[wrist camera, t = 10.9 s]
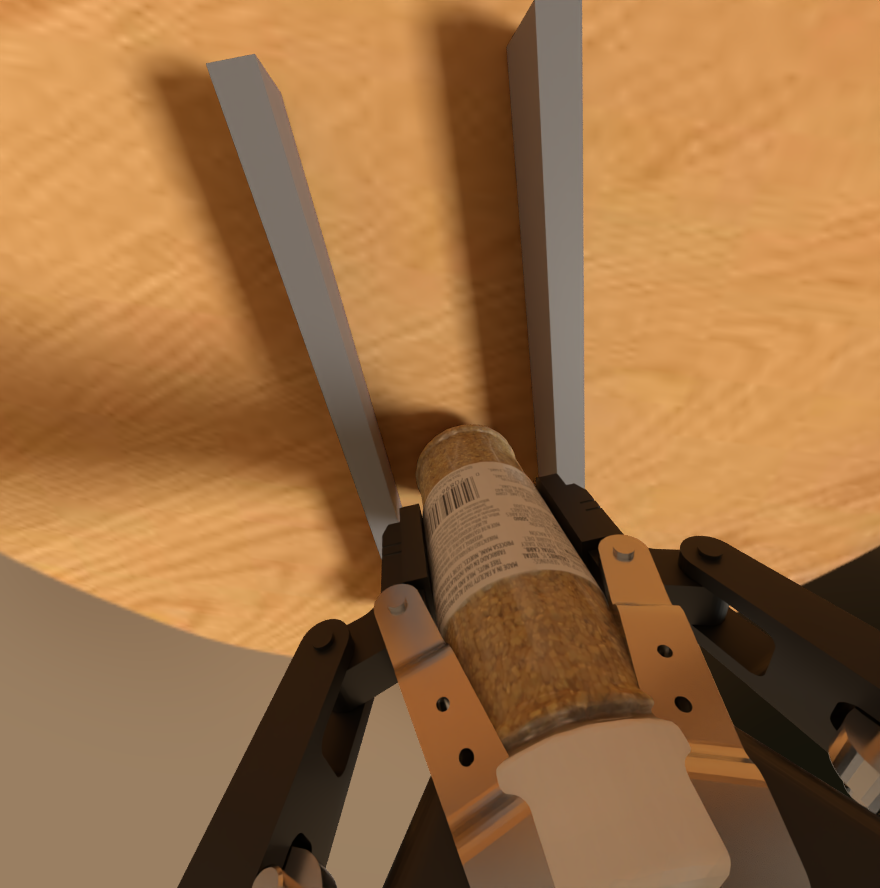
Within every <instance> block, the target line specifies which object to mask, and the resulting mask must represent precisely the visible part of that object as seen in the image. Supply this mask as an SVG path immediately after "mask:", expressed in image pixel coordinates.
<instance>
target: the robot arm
mask: <svg viewBox="0 0 880 888" xmlns="http://www.w3.org/2000/svg"><path fill="white" fill-rule="evenodd" d="M536 488H537V490H538V492H539V493H540V495H541V496H542V498H543V499H544V501H545V503H546V504H547V506H548V507H549V509H550V511H551V512H552V514H553V515H554V517H555V519H556V520H557V522H558V523H559V525H560V527H561V528H562V530H563V531H564V533H565V534H566V536H567V538H568V539H569V541H570V542H571V544H572V545H573V547H574V548H575V550H576V551H577V553H578V555H579V556H580V558H581V559H582V561H583V562H584V564H585V565H586V567H587V568H588V570H589V572H590V573H591V575H592V576H593V578H594V579H595V581H596V583H597V584H598V586H599V587H600V589H601V590H602V592H603V593H604V595H605V597H606V599H607V602H608V605H609V607H610V610H611V612H612V614H613V616H614V620H615V623H616V625H617V626H618V628H619V631H620V634H621V636H622V639H623V642H624V646H625V648H626V651H627V654H628V656H629V660H630V664H631V666H632V669H633V671H634V674H635V678H636V681H637V683H638V686H639V689H640V690H641V691H643V692H644V693H646V694H648V695H649V696H650V697H652V698H653V701H654V705H653V707H652V709H651V710H652V713H653V714H654V715H655V717H658V718H660V719H663V720H667V721H671V722H673V723H674V724H676V725H677V726H678V727H679V728H680V730H681V731H682V733H683V734H684V736H685V738H686V739H687V741H688V743H689V745H690V748H691V751H690V753H689V754H688V755H687V757H686V759H685V768H686V771H687V774H688V776H689V778H690V780H691V782H692V784H693V786H694V788H695V790H696V792H697V794H698V796H699V797H700V799H701V801H702V803H703V805H704V807H705V809H706V811H707V813H708V815H709V817H710V819H711V820H712V822H713V824H714V826H715V828H716V830H717V832H718V834H719V836H720V838H721V840H722V841H723V843H724V845H725V847H726V849H727V851H728V854H729V856H730V862H731V866H730V874H729V876H728V877H727V879H726V880H725V881H724V883H723V884H722V885H721V886H720V888H880V631H879V630H877V629H875V628H873V627H872V626H870V625H868V624H867V623H865V622H863V621H861V620H860V619H858V618H856V617H854V616H853V615H851V614H849V613H847V612H846V611H844V610H842V609H840V608H839V607H837V606H835V605H833V604H831V603H830V602H828V601H827V600H825V599H823V598H821V597H819V596H818V595H816V594H814V593H812V592H811V591H809V590H807V589H806V588H804V587H802V586H800V585H799V584H797V583H795V582H793V581H792V580H790V579H788V578H786V577H785V576H783V575H781V574H779V573H778V572H776V571H774V570H772V569H771V568H769V567H767V566H765V565H764V564H762V563H760V562H758V561H757V560H755V559H753V558H751V557H750V556H748V555H746V554H744V553H743V552H741V551H739V550H737V549H736V548H734V547H732V546H730V545H729V544H727V543H725V542H723V541H721V540H718V539H716V538H712V537H707V536H693V537H689V538H687V539H685V540H684V541H683V542H682V543H681V545H680V550H669V549H651V548H648V547H647V546H646V545H645V544H644V543H643V542H641V541H640V540H638V539H636V538H634V537H631V536H628V535H624V534H623V533H622V532H621V531H620V530H619V528H618V527H617V526H616V525H615V524H614V522H613V521H612V520H611V519H610V518H609V516H608V515H607V514H606V513H605V512H604V510H603V509H602V508H600V506H599V505H598V503H597V502H596V501H594V499H593V497H592V496H591V495H590V494H589V493H588V491H587V490H586V489H584V488H582V487H580V486H578V485H576V484H575V483H573V484H568V485H566V484H565V483H564V481H563V480H562V479H561V477H560V476H559V475H558V474H557V473H555V474H551V475H546V476H542V477H537V478H536ZM399 514H400V522H398V523H394V524H389V525H388V526H387V527H386V529H385V531H384V533H383V535H382V579H381V594H380V595H379V596H378V597H377V599H376V601H375V604H374V608H373V609H372V610H371V611H370V612H369V613H367V614H366V615H364V616H363V617H361V618H359V619H357V620H356V621H354V622H352V623H350V624H348V625H346V624H345V623H344V622H343V621H341V620H338V619H329V620H325V621H322V622H320V623H318V624H317V625H315V626H314V627H312V628H311V629H310V630H309V631H308V632H307V633H306V634H305V636H304V637H303V639H302V641H301V643H300V645H299V647H298V649H297V651H296V653H295V655H294V657H293V659H292V661H291V663H290V664H289V666H288V669H287V671H286V673H285V675H284V677H283V679H282V681H281V683H280V684H279V686H278V688H277V690H276V693H275V694H274V697H273V698H272V700H271V702H270V705H269V706H268V708H267V711H266V712H265V714H264V716H263V718H262V720H261V722H260V724H259V726H258V728H257V730H256V732H255V734H254V736H253V738H252V740H251V742H250V744H249V746H248V748H247V750H246V752H245V754H244V756H243V758H242V760H241V762H240V764H239V766H238V768H237V770H236V772H235V774H234V776H233V778H232V780H231V782H230V784H229V786H228V788H227V790H226V792H225V794H224V796H223V798H222V800H221V802H220V804H219V806H218V808H217V810H216V812H215V814H214V816H213V818H212V820H211V822H210V824H209V826H208V828H207V830H206V832H205V834H204V836H203V838H202V840H201V842H200V844H199V846H198V848H197V850H196V852H195V854H194V856H193V858H192V860H191V862H190V863H189V865H188V867H187V870H186V871H185V873H184V876H183V878H182V880H181V882H180V884H179V885H178V887H177V888H337V885H336V882H335V880H334V878H333V877H332V875H331V874H330V873H329V872H328V871H327V870H326V864H327V861H328V858H329V854H330V851H331V847H332V843H333V840H334V836H335V833H336V830H337V826H338V823H339V819H340V816H341V812H342V809H343V805H344V802H345V798H346V795H347V791H348V788H349V784H350V781H351V777H352V774H353V770H354V767H355V763H356V760H357V757H358V753H359V750H360V746H361V743H362V739H363V736H364V732H365V729H366V725H367V722H368V718H369V715H370V711H371V708H372V704H373V701H374V697H375V696H376V695H378V694H380V693H381V692H383V691H385V690H386V689H388V688H390V687H391V686H393V685H394V684H396V683H399V686H400V689H401V692H402V694H403V697H404V700H405V703H406V706H407V708H408V712H409V714H410V717H411V720H412V723H413V725H414V728H415V731H416V734H417V737H418V740H419V743H420V745H421V748H422V751H423V754H424V757H425V759H426V762H427V765H428V768H429V771H430V774H431V777H430V779H429V781H428V784H427V786H426V788H425V790H424V793H423V795H422V797H421V800H420V802H419V804H418V807H417V809H416V811H415V814H414V816H413V818H412V820H411V823H410V825H409V827H408V830H407V832H406V834H405V837H404V839H403V841H402V844H401V846H400V848H399V851H398V853H397V855H396V858H395V860H394V862H393V864H392V867H391V869H390V871H389V874H388V876H387V878H386V881H385V883H384V885H383V888H555V885H554V882H553V879H552V876H551V873H550V869H549V866H548V863H547V860H546V857H545V853H544V850H543V847H542V844H541V841H540V838H539V835H538V832H537V829H536V825H535V822H534V819H533V815H532V812H531V810H530V807H529V805H528V804H527V803H526V801H525V800H523V799H522V798H521V797H519V796H516V795H512V794H505V793H504V792H503V791H502V790H501V789H500V787H499V784H498V780H497V775H496V769H497V767H498V766H499V765H500V764H501V763H502V762H503V761H504V760H505V759H506V758H508V757H509V755H508V753H507V751H506V750H505V748H504V746H503V744H502V742H501V740H500V738H499V736H498V735H497V733H496V731H495V729H494V727H493V725H492V723H491V721H490V720H489V718H488V716H487V714H486V712H485V710H484V708H483V706H482V704H481V703H480V701H479V699H478V697H477V695H476V693H475V691H474V689H473V688H472V686H471V684H470V682H469V680H468V678H467V676H466V674H465V673H464V671H463V669H462V667H461V665H460V663H459V661H458V659H457V658H456V656H455V654H454V652H453V650H452V648H451V647H450V645H449V644H448V643H445V642H444V640H443V638H442V636H441V634H440V632H439V630H438V628H437V621H436V614H435V606H434V599H433V592H432V585H431V577H430V570H429V563H428V555H427V547H426V540H425V533H424V525H423V518H422V514H421V510H420V506H419V504H415V505H411V506H406V507H402V508H399ZM729 605H730V606H731V607H733V608H734V609H736V610H737V611H739V612H740V613H741V614H743V615H744V616H746V617H747V618H749V619H750V620H752V621H753V622H754V623H756V624H757V625H759V626H760V627H761V628H763V629H764V630H765V631H766V632H767V633H768V634H769V635H770V636H771V637H770V636H769V635H767V634H766V633H764V632H763V631H762V630H760V629H759V628H757V627H756V626H754V625H753V624H752V623H750V622H749V621H747V620H746V619H744V618H743V617H742V616H740V615H739V614H738V613H736V612H735V611H733V610H732V609H730V608H729ZM698 644H700V645H701V646H702V647H703V648H704V649H706V650H707V651H708V652H709V653H710V654H711V655H713V656H714V657H715V658H716V659H717V660H719V661H720V662H721V663H722V664H723V665H724V666H726V667H727V668H728V669H729V670H731V671H732V672H733V673H734V674H735V675H736V676H737V677H739V678H740V679H741V680H742V681H744V682H745V683H746V684H747V685H748V686H750V687H751V688H752V689H753V690H754V691H755V692H757V693H758V694H759V695H760V696H761V697H763V698H764V699H765V700H766V701H767V702H769V703H770V704H771V705H772V706H773V707H774V708H776V709H777V710H778V711H779V712H780V713H782V714H783V715H784V716H785V717H786V718H788V719H789V720H790V721H791V722H792V723H793V724H795V725H796V726H797V727H798V728H800V729H801V730H802V731H803V732H804V733H805V734H807V735H808V736H809V737H810V738H811V739H813V740H814V741H815V742H816V743H817V744H818V745H820V746H821V747H822V748H823V749H824V750H826V751H827V752H828V753H829V757H830V760H831V762H832V765H833V767H834V769H835V770H836V772H837V773H838V775H839V776H840V778H841V779H842V780H843V782H844V786H845V788H846V790H847V792H848V793H849V794H850V795H851V797H853V799H855V800H856V801H857V802H858V803H860V804H861V805H860V804H858V803H857V802H855V801H854V800H852V799H850V798H849V797H847V796H846V795H844V794H842V793H841V792H839V791H838V790H836V789H834V788H832V787H831V786H830V785H828V784H826V783H825V782H823V781H821V780H820V779H818V778H817V777H815V776H813V775H812V774H810V773H809V772H807V771H805V770H804V769H802V768H801V767H799V766H797V765H795V764H794V763H793V762H791V761H789V760H788V759H786V758H785V757H783V756H781V755H780V754H778V753H776V752H775V751H773V750H772V749H770V748H768V747H767V746H765V745H764V744H762V743H761V742H759V741H757V740H756V739H754V738H753V737H751V736H749V735H748V734H746V733H745V732H743V731H741V730H740V729H738V728H737V727H735V726H733V723H732V721H731V719H730V717H729V714H728V712H727V710H726V707H725V705H724V703H723V700H722V698H721V696H720V693H719V691H718V689H717V687H716V684H715V682H714V680H713V677H712V675H711V673H710V670H709V669H708V666H707V664H706V661H705V659H704V657H703V654H702V652H701V650H700V647H699V645H698ZM470 763H472V764H470ZM862 805H863V806H865V807H867V808H868V809H869V810H868V809H866V808H865V807H863V806H862Z"/></svg>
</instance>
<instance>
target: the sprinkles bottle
mask: <svg viewBox="0 0 880 888" xmlns="http://www.w3.org/2000/svg"><path fill="white" fill-rule="evenodd" d="M415 475H416V482H417V486H418V488H419V491H420V493H421V497H422V502H423V525H424V533H425V540H426V547H427V555H428V563H429V570H430V577H431V585H432V592H433V599H434V606H435V614H436V621H437V628H438V630H439V632H440V634H441V636H442V638H443V640H444V642H445V643H448V644H449V645H450V647H451V648H452V650H453V652H454V654H455V656H456V658H457V659H458V661H459V663H460V665H461V667H462V669H463V671H464V673H465V674H466V676H467V678H468V680H469V682H470V684H471V686H472V688H473V689H474V691H475V693H476V695H477V697H478V699H479V701H480V703H481V704H482V706H483V708H484V710H485V712H486V714H487V716H488V718H489V720H490V721H491V723H492V725H493V727H494V729H495V731H496V733H497V735H498V736H499V738H500V740H501V742H502V744H503V746H504V748H505V750H506V751H507V753H508V755H509V757H508V758H506V759H505V760H504V761H503V762H502V763H501V764H500V765H499V766H498V767H497V769H496V775H497V780H498V784H499V787H500V789H501V790H502V791H503V792H504V793H505V794H512V795H516V796H519V797H521V798H522V799H523V800H525V801H526V803H527V804H528V805H529V807H530V810H531V812H532V815H533V819H534V822H535V825H536V829H537V832H538V835H539V838H540V841H541V844H542V847H543V850H544V853H545V857H546V860H547V863H548V866H549V869H550V873H551V876H552V879H553V882H554V885H555V888H720V886H721V885H722V884H723V883H724V881H725V880H726V879H727V877H728V876H729V874H730V866H731V862H730V856H729V854H728V851H727V849H726V847H725V845H724V843H723V841H722V840H721V838H720V836H719V834H718V832H717V830H716V828H715V826H714V824H713V822H712V820H711V819H710V817H709V815H708V813H707V811H706V809H705V807H704V805H703V803H702V801H701V799H700V797H699V796H698V794H697V792H696V790H695V788H694V786H693V784H692V782H691V780H690V778H689V776H688V774H687V771H686V768H685V759H686V757H687V755H688V754H689V753H690V751H691V748H690V745H689V743H688V741H687V739H686V738H685V736H684V734H683V733H682V731H681V730H680V728H679V727H678V726H677V725H676V724H674V723H673V722H671V721H667V720H663V719H660V718H658V717H655V715H654V714H653V713H652V710H651V709H652V707H653V705H654V701H653V698H652V697H650V696H649V695H648V694H646V693H644V692H643V691H641V690H640V689H639V686H638V683H637V681H636V678H635V674H634V671H633V669H632V666H631V664H630V660H629V656H628V654H627V651H626V648H625V646H624V642H623V639H622V636H621V634H620V631H619V628H618V626H617V625H616V623H615V620H614V616H613V614H612V612H611V610H610V607H609V605H608V602H607V599H606V597H605V595H604V593H603V592H602V590H601V589H600V587H599V586H598V584H597V583H596V581H595V579H594V578H593V576H592V575H591V573H590V572H589V570H588V568H587V567H586V565H585V564H584V562H583V561H582V559H581V558H580V556H579V555H578V553H577V551H576V550H575V548H574V547H573V545H572V544H571V542H570V541H569V539H568V538H567V536H566V534H565V533H564V531H563V530H562V528H561V527H560V525H559V523H558V522H557V520H556V519H555V517H554V515H553V514H552V512H551V511H550V509H549V507H548V506H547V504H546V503H545V501H544V499H543V498H542V496H541V495H540V493H539V492H538V490H537V488H536V487H535V485H534V484H533V482H532V481H531V480H530V479H529V477H528V476H527V475H525V473H524V471H523V469H522V468H521V466H520V465H519V463H518V462H517V460H516V459H515V454H514V452H513V449H512V448H511V446H510V445H509V444H508V442H507V440H506V439H505V438H504V437H503V436H502V435H501V434H500V433H498V432H497V431H495V430H493V429H491V428H489V427H487V426H481V425H460V426H456V427H452V428H449V429H446V430H445V431H443V432H441V433H440V434H438V435H437V436H435V437H434V438H433V439H432V441H430V442H429V443H428V444H427V445H426V446H425V448H424V449H423V451H422V453H421V454H420V456H419V459H418V461H417V470H416V474H415ZM470 764H472V763H470Z"/></svg>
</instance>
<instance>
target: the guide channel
mask: <svg viewBox="0 0 880 888" xmlns="http://www.w3.org/2000/svg"><path fill="white" fill-rule="evenodd" d="M507 60H508V74H509V87H510V100H511V114H512V127H513V140H514V154H515V167H516V180H517V194H518V207H519V221H520V234H521V247H522V261H523V274H524V287H525V301H526V314H527V328H528V341H529V354H530V368H531V381H532V394H533V408H534V421H535V434H536V448H537V461H538V475H539V477H542V476H546V475H551V474H555V473H557V474H558V475H559V476H560V477H561V479H562V480H563V481H564V483H565V484H566V485H568V484H573V483H575V484H576V485H578V486H580V487H582V488H584V489H585V447H584V275H583V103H582V0H534V1H533V3H532V4H531V6H530V8H529V9H528V11H527V13H526V15H525V16H524V18H523V20H522V21H521V23H520V25H519V27H518V28H517V30H516V32H515V33H514V35H513V37H512V39H511V40H510V42H509V44H508V45H507ZM206 66H207V68H208V71H209V74H210V77H211V80H212V82H213V85H214V88H215V91H216V94H217V97H218V99H219V102H220V105H221V108H222V111H223V114H224V116H225V119H226V122H227V125H228V128H229V130H230V133H231V136H232V139H233V142H234V145H235V147H236V150H237V153H238V156H239V159H240V162H241V164H242V167H243V170H244V173H245V176H246V178H247V181H248V184H249V187H250V190H251V193H252V195H253V198H254V201H255V204H256V207H257V209H258V212H259V215H260V218H261V221H262V224H263V226H264V229H265V232H266V235H267V238H268V241H269V243H270V246H271V249H272V252H273V255H274V257H275V260H276V263H277V266H278V269H279V272H280V274H281V277H282V280H283V283H284V286H285V289H286V291H287V294H288V297H289V300H290V303H291V305H292V308H293V311H294V314H295V317H296V320H297V322H298V325H299V328H300V331H301V334H302V336H303V339H304V342H305V345H306V348H307V351H308V353H309V356H310V359H311V362H312V365H313V368H314V370H315V373H316V376H317V379H318V382H319V384H320V387H321V390H322V393H323V396H324V399H325V401H326V404H327V407H328V410H329V413H330V416H331V418H332V421H333V424H334V427H335V430H336V432H337V435H338V438H339V441H340V444H341V447H342V449H343V452H344V455H345V458H346V461H347V463H348V466H349V469H350V472H351V475H352V478H353V480H354V483H355V486H356V489H357V492H358V495H359V497H360V500H361V503H362V506H363V509H364V511H365V514H366V517H367V520H368V523H369V526H370V528H371V531H372V534H373V537H374V540H375V543H376V545H377V548H378V551H379V554H380V557H381V559H382V535H383V533H384V531H385V529H386V527H387V526H388V525H389V524H394V523H398V522H400V514H399V508H402V505H401V502H400V498H399V495H398V491H397V488H396V485H395V481H394V478H393V474H392V471H391V468H390V464H389V461H388V457H387V454H386V451H385V447H384V444H383V440H382V437H381V433H380V430H379V427H378V423H377V420H376V416H375V413H374V410H373V406H372V403H371V399H370V396H369V392H368V389H367V386H366V382H365V379H364V375H363V372H362V369H361V365H360V362H359V358H358V355H357V351H356V348H355V345H354V341H353V338H352V334H351V331H350V328H349V324H348V321H347V317H346V314H345V311H344V307H343V304H342V300H341V297H340V293H339V290H338V287H337V283H336V280H335V276H334V273H333V270H332V266H331V263H330V259H329V256H328V252H327V249H326V246H325V242H324V239H323V235H322V232H321V229H320V225H319V222H318V218H317V215H316V212H315V208H314V205H313V201H312V198H311V194H310V191H309V188H308V184H307V181H306V177H305V174H304V171H303V167H302V164H301V160H300V157H299V153H298V150H297V147H296V143H295V140H294V136H293V133H292V130H291V126H290V123H289V119H288V116H287V113H286V109H285V106H284V102H283V99H282V95H281V92H280V91H279V89H278V88H277V86H276V85H275V83H274V82H273V80H272V79H271V77H270V76H269V74H268V73H267V71H266V70H265V68H264V67H263V65H262V64H261V62H260V61H259V59H258V58H257V56H256V55H255V54H252V55H247V56H242V57H237V58H231V59H226V60H221V61H216V62H211V63H206Z"/></svg>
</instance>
